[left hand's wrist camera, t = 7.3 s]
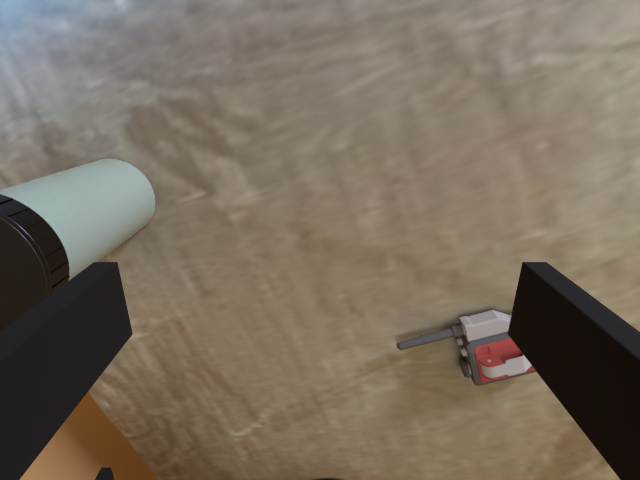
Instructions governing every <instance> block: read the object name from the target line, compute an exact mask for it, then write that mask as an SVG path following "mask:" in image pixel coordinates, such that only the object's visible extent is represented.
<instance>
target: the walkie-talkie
mask: <svg viewBox="0 0 640 480" xmlns="http://www.w3.org/2000/svg"><path fill="white" fill-rule="evenodd" d="M459 319H460V323H461V324H458V325H455V326H451V328H448V329H444V330H440V331H436V332H433V333H429V334H425V335H421V336H419V337H417V338H413V339H409V340H406V341H402V342H399V343H397V348H398V349H399V350H404V349H407V348H411V347H415V346H419V345H423V344H427V343H431V342H434V341H438V340H442V339H446V338H450V337H459V338H456V341H457V344H458V345H462V348H463V349H460V351H461V354H462V356H464V357H465V361H466V362H465V361H464V360H461V361H460V366H461V369H462V372H463V374H464V376H465V377H466V378H470V376H471V378H472V380H473V382H474V384H475V385H478V386H480V385H484V384H489V383H493V382H497V381H501V380H505V379H509V378H513V377H516V376H520V375H525V374H529V373H533V372H536V370H535V369H534V367H533V366H532V365H531V364H530V362H529V361H528V360H527V358H526V357H525V356H524V355H523V353H522V352H521V351H520V349H519V348H518V347H517V346H516V344H515V343H514V342H513V340H512V339H511V338H510V337H509V335H508V329H509V325H510V320H511V315H507V314H504V313H501V312H498V311H495V310H491V311H487V312H483V313H479V314H475V315H471V316H468V317H467V316H463V317H460V318H459Z"/></svg>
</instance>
